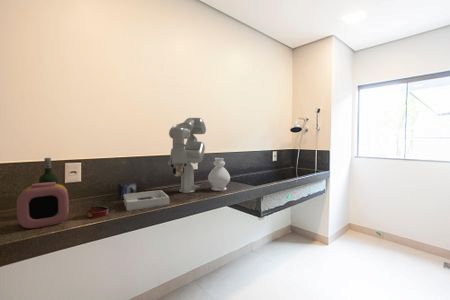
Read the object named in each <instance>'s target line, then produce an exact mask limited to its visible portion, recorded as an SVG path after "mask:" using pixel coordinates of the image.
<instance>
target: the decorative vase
mask: <svg viewBox="0 0 450 300" xmlns="http://www.w3.org/2000/svg"><path fill="white" fill-rule="evenodd" d="M224 159H225V158H224V157H215V158H214V161H213V166H214V167H213V168H212V169H211V171H210V172H209V174H208V177H207V181H208V182H209V183H210V185H211V186H212V187H210V188H211V190H213V191H217V192H219V191H223V192H224V191H227V190H228V188H227V187H226V186H228V184H229V182H230V181H231V176H230V173H229V171H228V170H227V169H226V168H225V167H224V166H225V165H226V162H225V160H224Z"/></svg>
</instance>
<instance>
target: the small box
mask: <svg viewBox="0 0 450 300" xmlns="http://www.w3.org/2000/svg"><path fill="white" fill-rule="evenodd" d="M131 193H137V182H135V181H124V182H118V183H117V199H118V200H120V201H124V200H123V199H124V194H131Z"/></svg>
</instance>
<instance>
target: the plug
mask: <svg viewBox="0 0 450 300" xmlns="http://www.w3.org/2000/svg"><path fill="white" fill-rule="evenodd" d="M175 168H176V174H174V173H173V175H174V176H175V177H181V176H183V165H181V164H176V166H175Z"/></svg>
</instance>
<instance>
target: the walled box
mask: <svg viewBox="0 0 450 300" xmlns="http://www.w3.org/2000/svg"><path fill="white" fill-rule="evenodd" d="M123 204H124V207H125V210H126V212H131V211H138V210H139V211H140V210H145V209H151V208H152V209H153V208H159V207H164V206H165V207H166V206H170V196H169V195H168V194H167V193H165V192H164V191H163V190H161V189H160V190H150V191H140V192H136V193H131V194H124V200H123Z"/></svg>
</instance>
